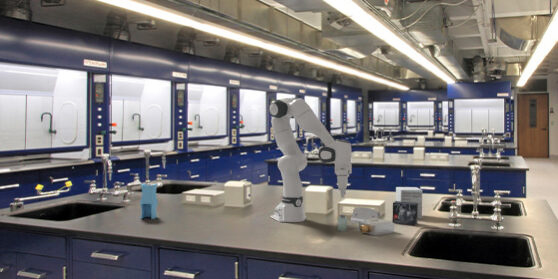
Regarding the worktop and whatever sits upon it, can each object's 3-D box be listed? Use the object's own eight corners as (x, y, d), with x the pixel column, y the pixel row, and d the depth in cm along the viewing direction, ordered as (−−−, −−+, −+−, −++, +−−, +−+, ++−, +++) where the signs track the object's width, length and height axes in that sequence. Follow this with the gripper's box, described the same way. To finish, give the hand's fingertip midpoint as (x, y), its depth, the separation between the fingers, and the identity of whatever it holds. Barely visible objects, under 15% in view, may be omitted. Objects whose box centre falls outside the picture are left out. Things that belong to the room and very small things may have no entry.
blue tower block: (157, 216, 276) (157, 183, 275) (152, 219, 268) (152, 185, 267) (145, 216, 276) (145, 183, 276) (140, 218, 269) (139, 185, 268)
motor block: (354, 231, 239) (354, 220, 239) (377, 227, 249) (377, 217, 249) (370, 236, 229) (370, 224, 229) (394, 232, 239) (394, 220, 239)
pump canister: (335, 229, 244) (335, 214, 243) (342, 228, 246) (343, 213, 246) (342, 231, 239) (342, 216, 239) (349, 230, 242) (349, 215, 242)
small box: (392, 223, 261) (392, 202, 261) (394, 221, 267) (395, 200, 267) (415, 225, 255) (415, 204, 254) (417, 223, 261) (418, 202, 260)
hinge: (349, 222, 263) (351, 205, 265) (352, 223, 266) (354, 206, 269) (376, 226, 254) (379, 208, 256) (379, 227, 257) (382, 209, 260)
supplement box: (422, 219, 274) (422, 190, 273) (400, 218, 274) (400, 189, 273) (416, 214, 287) (416, 186, 286) (395, 214, 287) (395, 186, 286)
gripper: (338, 168, 253) (338, 193, 253) (335, 171, 232) (335, 198, 233) (350, 168, 251) (350, 193, 252) (348, 172, 231) (348, 199, 232)
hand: (343, 196), depth 242 cm, fingers open, 8 cm apart
